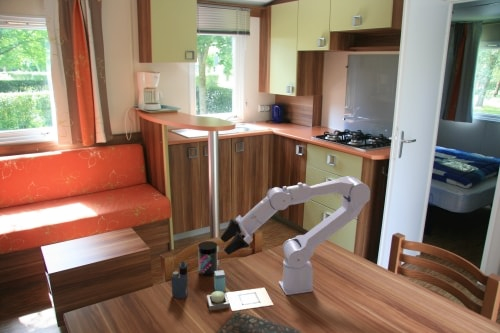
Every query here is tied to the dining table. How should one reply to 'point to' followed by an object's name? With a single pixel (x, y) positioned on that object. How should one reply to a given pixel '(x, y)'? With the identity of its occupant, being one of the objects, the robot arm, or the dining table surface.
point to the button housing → (218, 306)
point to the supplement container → (207, 258)
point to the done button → (217, 297)
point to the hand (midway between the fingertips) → (224, 246)
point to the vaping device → (180, 282)
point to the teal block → (219, 280)
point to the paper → (249, 299)
